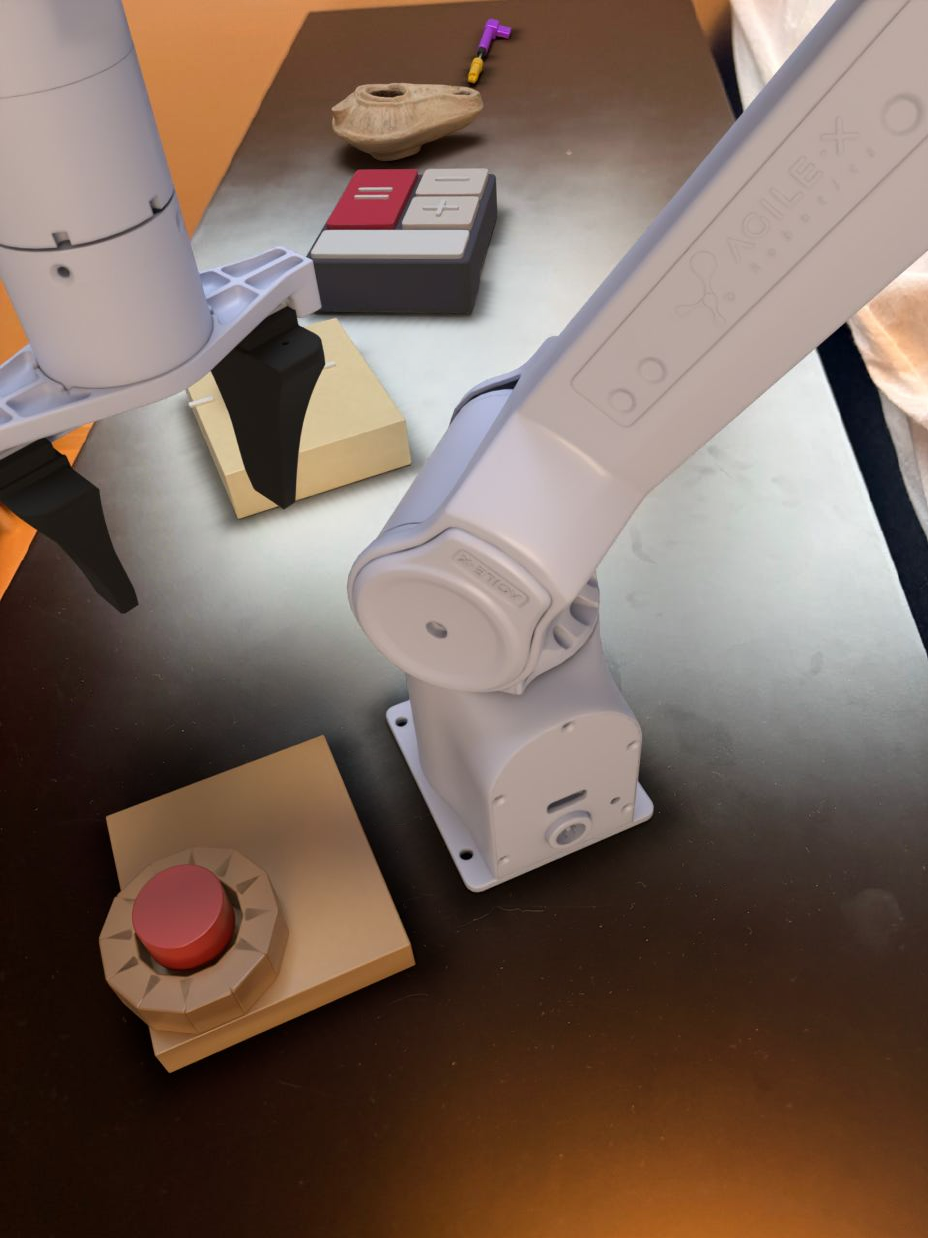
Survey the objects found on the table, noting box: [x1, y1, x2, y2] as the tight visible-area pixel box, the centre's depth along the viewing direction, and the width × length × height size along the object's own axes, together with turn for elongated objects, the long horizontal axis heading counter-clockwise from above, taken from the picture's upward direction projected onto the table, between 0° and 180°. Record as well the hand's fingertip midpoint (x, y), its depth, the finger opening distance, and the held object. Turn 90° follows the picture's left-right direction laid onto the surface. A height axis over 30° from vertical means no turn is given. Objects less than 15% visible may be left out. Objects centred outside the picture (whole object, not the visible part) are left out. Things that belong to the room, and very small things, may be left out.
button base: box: [98, 734, 416, 1074], centre depth 36 cm, size 10×10×4 cm
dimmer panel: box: [184, 317, 412, 520], centre depth 57 cm, size 12×10×3 cm
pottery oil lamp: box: [331, 82, 484, 162], centre depth 83 cm, size 9×12×7 cm
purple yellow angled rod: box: [467, 18, 512, 84], centre depth 99 cm, size 3×1×16 cm
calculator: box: [305, 167, 498, 314], centre depth 70 cm, size 11×4×15 cm
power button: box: [132, 864, 236, 971], centre depth 33 cm, size 3×3×2 cm
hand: (199, 544), depth 39 cm, fingers open, 7 cm apart
